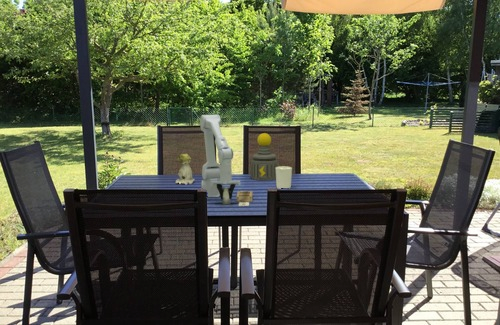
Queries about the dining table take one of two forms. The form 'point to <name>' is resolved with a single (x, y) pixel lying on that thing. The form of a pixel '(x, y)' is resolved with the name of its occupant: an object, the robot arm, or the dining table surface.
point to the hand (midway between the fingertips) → (226, 198)
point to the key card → (243, 203)
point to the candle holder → (283, 177)
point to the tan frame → (244, 196)
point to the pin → (225, 195)
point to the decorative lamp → (264, 161)
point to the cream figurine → (185, 170)
